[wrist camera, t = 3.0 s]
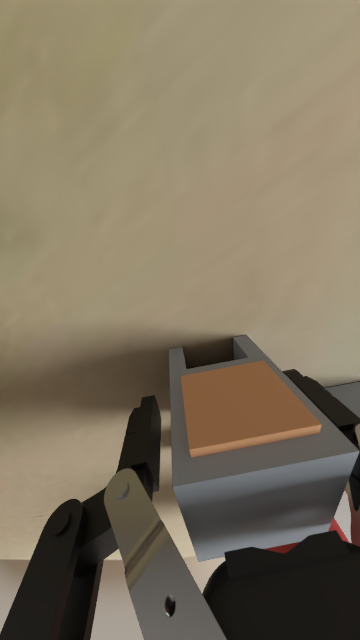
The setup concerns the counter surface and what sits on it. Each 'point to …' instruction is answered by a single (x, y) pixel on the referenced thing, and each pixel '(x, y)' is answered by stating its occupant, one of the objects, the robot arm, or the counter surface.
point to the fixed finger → (348, 397)
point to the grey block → (251, 454)
